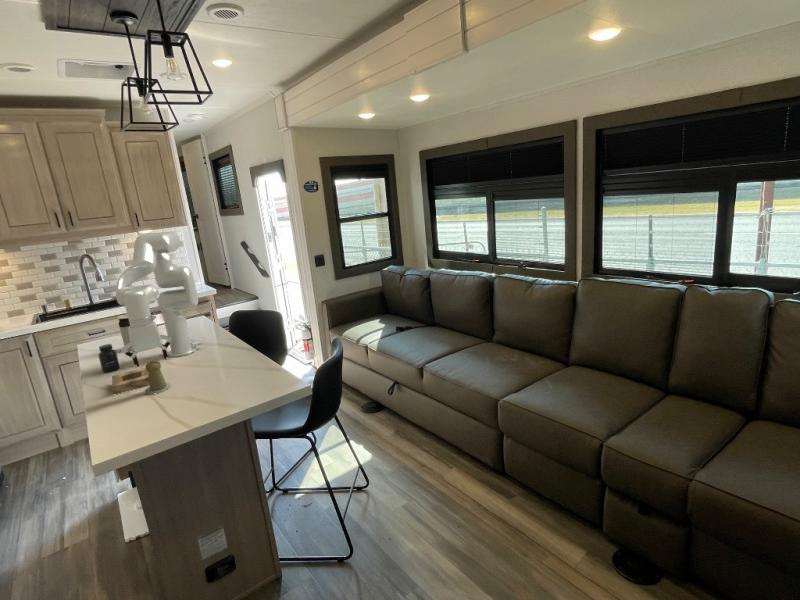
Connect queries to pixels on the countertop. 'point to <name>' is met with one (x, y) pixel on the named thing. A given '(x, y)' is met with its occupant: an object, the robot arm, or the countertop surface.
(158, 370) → the cork
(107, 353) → the supplement bottle
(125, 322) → the travel mug
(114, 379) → the socket ring
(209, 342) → the countertop surface
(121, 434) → the countertop surface
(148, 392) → the coaster
